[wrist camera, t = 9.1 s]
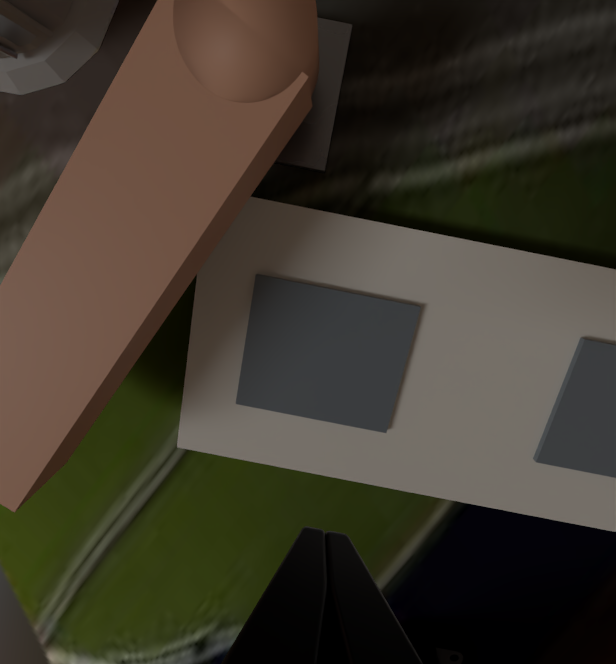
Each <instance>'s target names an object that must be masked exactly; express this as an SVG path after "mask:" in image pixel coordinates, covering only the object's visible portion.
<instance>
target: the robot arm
mask: <svg viewBox="0 0 616 664" xmlns="http://www.w3.org/2000/svg"><path fill="white" fill-rule="evenodd" d="M462 661H463V654H462V651H461V648H460V647H459V646H458V645H455V644H451V643H445V642H440V641H435V640H429V639H424V638H419V637H414V636H408V635H406V634H405V632H404V630H403V629H402V627H401V625H400V624H399V622H398V620H397V618H396V617H395V615H394V613H393V612H392V610H391V608H390V606H389V605H388V603H387V601H386V600H385V598H384V596H383V595H382V593H381V591H380V589H379V588H378V586H377V584H376V583H375V581H374V579H373V577H372V576H371V574H370V572H369V571H368V569H367V567H366V565H365V564H364V562H363V560H362V559H361V557H360V555H359V554H358V552H357V550H356V548H355V547H354V545H353V543H352V542H351V540H350V538H349V537H348V536H347V535H346V534H343V533H338V532H333V531H327V532H326V533H325V532H324V531H323V530H322V529H317V528H312V527H304V528H302V530H301V532H300V533H299V535H298V537H297V538H296V540H295V542H294V543H293V545H292V547H291V548H290V550H289V552H288V553H287V555H286V557H285V558H284V560H283V562H282V563H281V565H280V567H279V568H278V570H277V572H276V573H275V575H274V577H273V578H272V580H271V582H270V583H269V585H268V587H267V588H266V590H265V592H264V593H263V595H262V597H261V598H260V600H259V602H258V603H257V605H256V607H255V608H254V610H253V612H252V613H251V615H250V617H249V618H248V620H247V622H246V623H245V625H244V627H243V628H242V630H241V632H240V633H239V635H238V637H237V638H236V640H235V642H234V643H233V645H232V647H231V648H230V650H229V652H228V653H227V655H226V657H225V658H224V660H223V662H222V663H221V664H461V663H462Z"/></svg>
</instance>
